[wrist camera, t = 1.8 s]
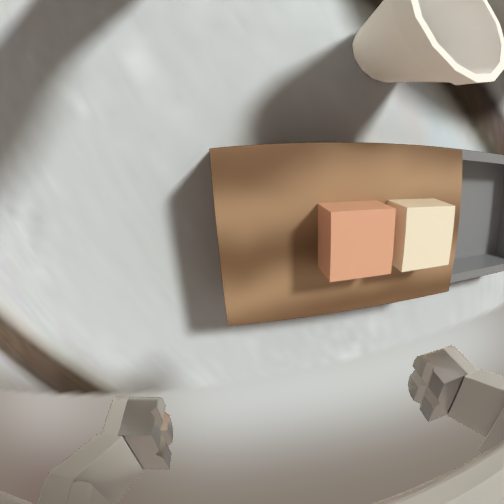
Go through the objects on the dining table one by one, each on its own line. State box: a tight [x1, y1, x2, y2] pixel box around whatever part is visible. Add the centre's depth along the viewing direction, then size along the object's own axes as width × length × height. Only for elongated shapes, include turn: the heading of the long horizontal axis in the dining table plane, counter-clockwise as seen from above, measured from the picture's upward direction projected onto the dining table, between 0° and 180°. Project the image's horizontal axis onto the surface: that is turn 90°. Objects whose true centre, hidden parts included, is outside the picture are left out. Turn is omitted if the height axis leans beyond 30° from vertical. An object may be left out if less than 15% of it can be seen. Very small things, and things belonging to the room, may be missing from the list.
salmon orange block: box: [318, 200, 396, 282], centre depth 22 cm, size 5×5×3 cm
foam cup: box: [352, 0, 504, 85], centre depth 18 cm, size 10×9×13 cm
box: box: [443, 147, 504, 283], centre depth 29 cm, size 14×14×4 cm
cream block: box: [387, 198, 455, 272], centre depth 23 cm, size 5×5×3 cm
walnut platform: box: [209, 142, 462, 326], centre depth 27 cm, size 14×22×6 cm, turn 94°
